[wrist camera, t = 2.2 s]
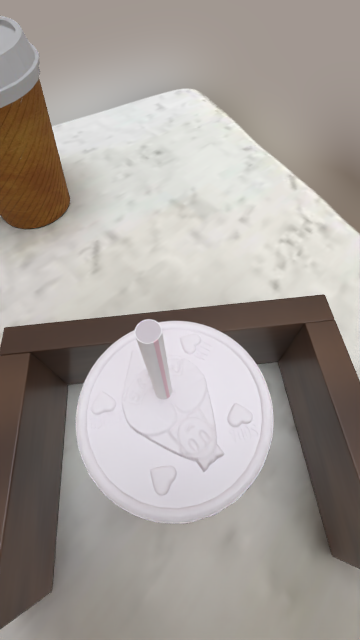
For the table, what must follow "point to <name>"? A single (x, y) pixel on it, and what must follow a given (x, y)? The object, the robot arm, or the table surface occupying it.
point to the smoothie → (174, 421)
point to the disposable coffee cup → (26, 138)
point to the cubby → (73, 367)
